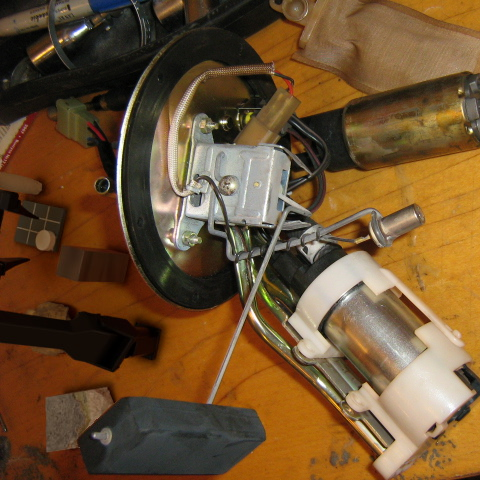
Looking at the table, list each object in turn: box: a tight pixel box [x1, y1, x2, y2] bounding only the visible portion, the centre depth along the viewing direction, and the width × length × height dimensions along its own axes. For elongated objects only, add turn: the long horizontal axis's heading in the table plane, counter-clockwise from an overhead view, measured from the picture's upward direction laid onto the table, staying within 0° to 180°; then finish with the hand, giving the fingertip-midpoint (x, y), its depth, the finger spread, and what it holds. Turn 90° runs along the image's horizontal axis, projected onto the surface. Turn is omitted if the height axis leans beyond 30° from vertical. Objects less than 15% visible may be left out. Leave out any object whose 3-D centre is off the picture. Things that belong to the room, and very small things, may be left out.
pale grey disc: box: [36, 230, 55, 252], centre depth 104 cm, size 5×5×1 cm
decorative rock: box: [24, 301, 72, 357], centre depth 101 cm, size 11×4×15 cm
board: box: [13, 199, 68, 253], centre depth 107 cm, size 14×10×1 cm
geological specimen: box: [44, 386, 115, 453], centre depth 94 cm, size 11×6×15 cm
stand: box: [55, 244, 131, 284], centre depth 93 cm, size 6×6×12 cm
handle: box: [0, 171, 43, 195], centre depth 103 cm, size 5×6×15 cm
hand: (33, 238), depth 102 cm, fingers open, 9 cm apart
